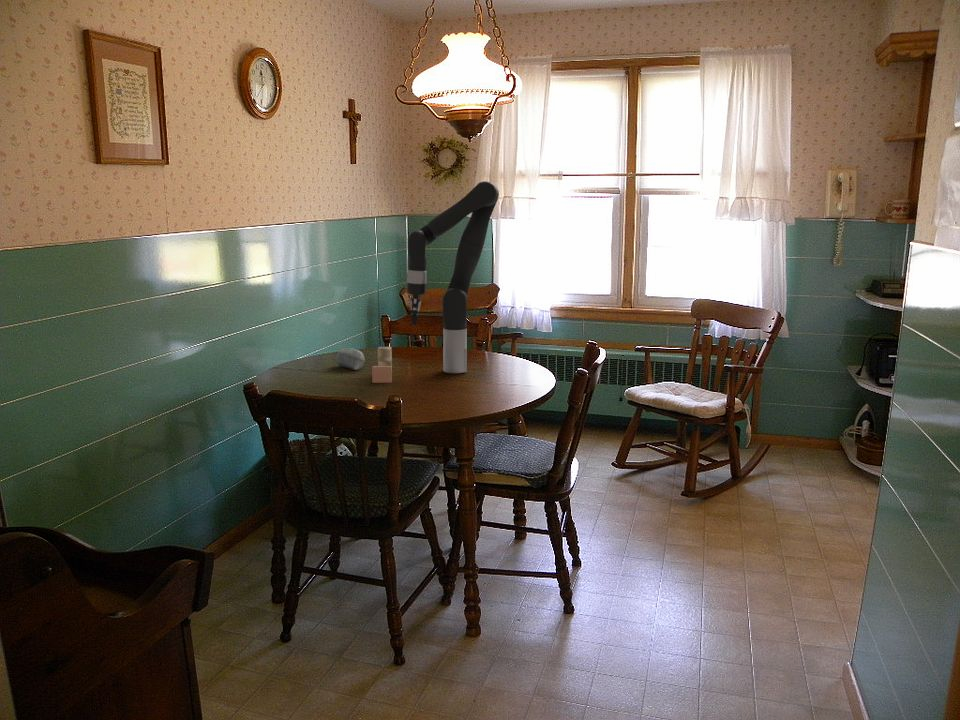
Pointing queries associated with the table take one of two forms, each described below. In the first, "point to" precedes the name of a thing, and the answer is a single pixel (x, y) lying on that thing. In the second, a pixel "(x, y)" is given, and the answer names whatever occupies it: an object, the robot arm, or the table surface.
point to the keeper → (384, 356)
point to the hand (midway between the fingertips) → (414, 322)
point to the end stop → (382, 374)
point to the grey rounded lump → (350, 358)
